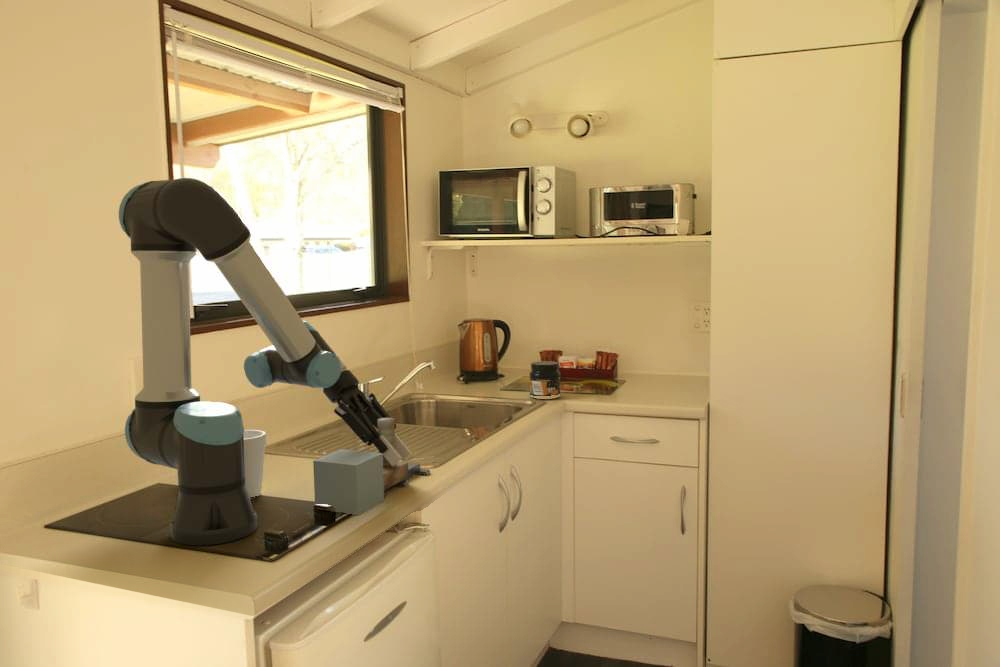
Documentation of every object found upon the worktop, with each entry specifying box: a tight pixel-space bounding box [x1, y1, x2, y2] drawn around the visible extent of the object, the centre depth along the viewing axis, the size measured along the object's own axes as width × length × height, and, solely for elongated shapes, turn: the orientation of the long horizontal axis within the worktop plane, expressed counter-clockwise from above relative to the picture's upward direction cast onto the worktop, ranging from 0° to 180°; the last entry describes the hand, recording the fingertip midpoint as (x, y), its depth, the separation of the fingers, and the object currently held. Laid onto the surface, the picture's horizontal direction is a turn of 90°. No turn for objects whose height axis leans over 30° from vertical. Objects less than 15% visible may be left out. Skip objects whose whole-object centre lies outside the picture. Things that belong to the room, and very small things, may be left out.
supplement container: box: [528, 360, 561, 396], centre depth 277 cm, size 10×10×12 cm
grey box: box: [312, 448, 385, 516], centre depth 164 cm, size 10×10×10 cm
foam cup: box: [243, 429, 267, 498], centre depth 172 cm, size 10×9×13 cm
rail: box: [384, 462, 431, 499], centre depth 179 cm, size 22×8×2 cm, turn 157°
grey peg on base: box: [377, 417, 408, 490], centre depth 174 cm, size 12×7×14 cm, turn 157°
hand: (402, 459), depth 175 cm, fingers closed on grey peg on base, 4 cm apart
